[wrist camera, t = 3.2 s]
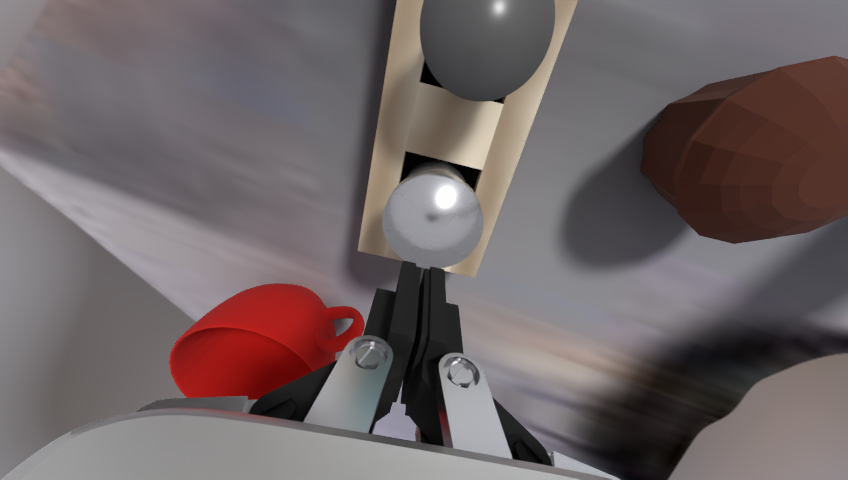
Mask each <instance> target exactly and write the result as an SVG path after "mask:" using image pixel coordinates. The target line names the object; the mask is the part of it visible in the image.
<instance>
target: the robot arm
mask: <svg viewBox="0 0 848 480" xmlns="http://www.w3.org/2000/svg"><path fill="white" fill-rule="evenodd" d="M420 274H421V268H419V267H416V263H413V262H409V261H404V260H403V263H402V267H401V271H400V275H399V280H398V284H397V288H396V292H393V291H388V290H383V289H379V288H377V290H376V293H375V296H374V300H373V303H372V307H371V310H370V314H369V317H368V321H367V324H366V327H365V331H364V334H363V336H359V337H356V338H354V339H353V340H351V341H350V342H349V343H348V344H347V346H346V347H345V349H344V351H343V352H342V354H341V356H340V358H339V360H337V361H334V362H332V363H330V364H328V365H326V366H324V367H322V368H320V369H317V370H315V371H313V372H311V373H309V374H307V375H305V376H303V377H300V378H298V379H296V380H294V381H292V382H290V383H288V384H286V385H283V386H281V387H279V388H277V389H275V390H273V391H271V392H269V393H267V394H265V395H264V396H262V397H260V398H259V399H258V400H248V396H227V397H199V398H170V399H163V400H157V401H155V402H152V403H150V404H147V405H145V406H143V407H142V408H140V409H139V410H137V411H136V412H133V413H128V414H122V415H118V416H114V417H110V418H106V419H102V420H99V421H96V422H93V423H90V424H87V425H85V426H82V427H80V428H77V429H75V430H72V431H70V432H69V433H67V434H65V435H63V436H61V437H59V438H58V439H56V440H54V441H53V442H51V443H49V444H48V445H46V446H45V447H43V448H42V449H40V450H39V451H37V452H36V453H35V454H33V455H32V456H31V457H29V458H28V459H26V460H25V461H24V462H22V463H21V464H20V465H18V466H17V467H16V468H15V469H13V470H12V471H11V472H10V473H9V474H7V475H6V476H5V477H3V478H2V479H1V480H620V479H618V478H617V477H614V476H612V475H610V474H607V473H605V472H603V471H600V470H598V469H595V468H593V467H591V466H588V465H586V464H583V463H581V462H579V461H576V460H574V459H572V458H569V457H567V456H564V455H562V454H560V453H557V452H555V451H553V452H552V453H551V454H549V453H547V452H546V450H545V448H544V447H543V446H542V445H541V444H540V443H539V441H538V440H537V439H536V438H534V437H533V436H532V435H531V434H530V433H529V432H528V431H527V430H526V429H525V428H524V427H523V426H522V425H521V424H520V423H519V422H518V421H517V420H516V419H515V418H514V417H513V416H512V415H511V414H510V413H509V412H507V411H506V410H505V409H504V408H503V407H502V406H501V405H500V404H499V403H498V402H497V401H496V400H495V399H494V398H493V397H492V396H491V393H490V390H489V387H488V384H487V381H486V377H485V374H484V372H483V370H482V368H481V366H480V365H479V364H478V363H477V362H476V361H475V360H474V359H472V358H471V357H469V356H467V355H465V354H463V345H462V336H461V327H460V317H459V308H458V306H457V305H454V304H450V303H446V290H445V271H444V269H441V268H436V267H432V266H431V267H430V269H429V270H428V269H425V270H424V273H423V277H422V280H421V284H420ZM402 381H403V385H402V394H401V404H406V412H405V415H407V416H410V418H411V419H412V420H413V421H414V423H415V424H416V425H417V426H416V432H415V436H416V442H414V441H409V440H403V439H397V438H392V437H386V436H380V435H374V434H373V431H374V428H375V425H376V422H377V421H378V420H379V419H381V418H382V417H384V416H385V415H387V414H388V413H390V409H391V406H392V402H396V401H397V398H398V395H399V391H400V388H401V384H402Z"/></svg>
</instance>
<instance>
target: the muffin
mask: <svg viewBox="0 0 848 480" xmlns="http://www.w3.org/2000/svg"><path fill="white" fill-rule="evenodd" d="M643 146H644V155H643V160H642V165H641V170H640V171H641V172H642V173H643V174H644V175H645V176H646V177H647V178H648V179H649V180H650V181H651V182H652V184H653V185H654V187H655V189H656V190H657V192H658V193H659V194H660V195H661V196H663V197H664V198H665V199H666V200H667V201H668V202H670V203H671V204H672V205H673V206H674V207H675V208H676V209H677V211H678V214H679V215H680V216H681V217H682V218H683V219H684V220H685V221H686V222H687V223H688V224H689V225H690V226H691V227H692V228H693V229H694V230H695V231H696V232H697V233H698V234H699V235H700V236H704V237H709V238H713V239H717V240H721V241H725V242H729V243H733V244H735V243H742V242H749V241H756V240H763V239H770V238H777V237H781V236H788V235H795V234H801V233H806V232H810V231H812V230H815V229H817V228H819V227H822V226H824V225H826V224H829V223H831V222H833V221H836V220H838V219H840V218H843V217H845V216H847V215H848V59H845V58H841V57H838V56H831V57H826V58H821V59H816V60H812V61H807V62H802V63H797V64H793V65H788V66H783V67H779V68H776V69H774V70H771V71H766V72H762V73H757V74H752V75H748V76H743V77H739V78H734V79H730V80H725V81H720V82H716V83H711V84H708V85H706V86H704V87H703V88H701V89H699V90H698V91H696V92H694V93H693V94H691V95H689V96H687V97H685V98H682V99H680V100H677V101H675V102H673V103H670V104H669V105H668V106H667V108H666V109H665V111H664V112H663V114H662V115H661V117H660V118H659V120H658V122H657V123H656V124H655V125H654V126H653V127H652V129H651V130H650V131H649V132H648V133H647V134H646V136H645V137H644V138H643Z"/></svg>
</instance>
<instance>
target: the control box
mask: <svg viewBox="0 0 848 480" xmlns="http://www.w3.org/2000/svg"><path fill="white" fill-rule="evenodd" d="M423 1H424V0H397V1H396V7H395V14H394V20H393V27H392V33H391V39H390V46H389V52H388V59H387V65H386V71H385V78H384V84H383V91H382V97H381V103H380V110H379V116H378V122H377V129H376V135H375V142H374V148H373V154H372V161H371V167H370V174H369V180H368V186H367V193H366V199H365V206H364V213H363V220H362V226H361V232H360V239H359V245H358V251H360V252H365V253H369V254H373V255H378V256H382V257H386V258H391V259H395V260H399V261H403V259H402V258H400V257H399V256H398V255H397V254H396V253H395V252H394V251H393V250H392V249H391V247H390V246H389V244H388V242H387V240H386V238H385V235H384V232H383V226H382V218H383V212H384V208H385V206H386V203H387V201H388V199H389V197H390V195H391V193H392V192H393V190H394V189H395V188H396V187H397V185H398V184H400V179H401V174H402V170H403V165H404V160H405V155H406V151H408V152H412V153H416V154H420V155H424V156H428V157H432V158H436V159H440V160H444V161H448V162H452V163H456V164H460V165H464V166H468V167H472V168H476V169H480V171H479V174H478V177H477V181H476V184H475V187H474V190H473V191H474V193H475V194H476V196H477V198H478V200H479V204H480V207H481V210H482V213H483V223H484V226H483V232H482V236H481V239H480V241H479V243H478V245H477V246H476V248H475V249H474V251H473V252H472V253H471V254H470V255H469V256H468V257H467V258H465V259H464V260H462V261H461V262H459V263H457V264H455V265H452V266H449V267H446V268H441V269H444V271H447V272H452V273H456V274H460V275H465V276H469V277H473V278H475V276H476V273H477V271H478V268H479V265H480V263H481V260H482V257H483V254H484V252H485V249H486V246H487V244H488V241H489V238H490V236H491V233H492V230H493V228H494V225H495V222H496V220H497V217H498V214H499V212H500V209H501V206H502V203H503V201H504V198H505V195H506V193H507V190H508V187H509V185H510V182H511V179H512V177H513V174H514V171H515V169H516V166H517V163H518V160H519V158H520V155H521V152H522V150H523V147H524V144H525V142H526V139H527V136H528V134H529V131H530V128H531V126H532V123H533V120H534V118H535V115H536V112H537V109H538V107H539V104H540V101H541V99H542V96H543V93H544V91H545V88H546V85H547V83H548V80H549V77H550V75H551V72H552V69H553V66H554V64H555V61H556V58H557V56H558V53H559V50H560V48H561V45H562V42H563V40H564V37H565V34H566V32H567V29H568V26H569V24H570V21H571V18H572V15H573V13H574V10H575V7H576V5H577V2H578V0H554V2H555V25H554V31H553V36H552V39H551V43H550V46H549V49H548V51H547V53H546V56H545V58H544V59H543V61H542V63H541V65H540V66H539V68H538V69H537V71H536V72H535V73H534V74H533V76H532V77H531V78H530V79H529V80H528V81H527V82H526V83H525V84H524V85H523V86H521V87H520V88H519V89H517V90H516V91H514V92H513V93H511V94H509V95H507V96H505V97H503V99H502V102H501V103H497V102H493V101H484V102H479V101H470V100H466V99H463V98H460V97H458V96H456V95H454V94H452V93H451V92H449V91H448V90H446V89H444V88H440V87H436V86H433V85H429V84H425V83H421V77H422V72H423V67H424V62H425V58H424V55H423V52H422V47H421V42H420V16H421V10H422V5H423Z"/></svg>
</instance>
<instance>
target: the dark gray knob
mask: <svg viewBox="0 0 848 480" xmlns="http://www.w3.org/2000/svg"><path fill="white" fill-rule="evenodd" d="M554 25H555V2H554V0H424V1H423V5H422V10H421V16H420V42H421V47H422V52H423V55H424V58H425V61H426V63H427V65H428V67H429V69H430V71H431V73H432V74H433V76H434V77H435V78H436V80H437V81H438V82H439V83H440V84H441V85H442V86H443V87H444V88H445V89H446V90H448V91H449V92H451V93H452V94H454V95H456V96H458V97H460V98H463V99H466V100H470V101H479V102H484V101H492V100H496V99H500V98H502V97H505V96H507V95H509V94H511V93H513V92H514V91H516V90H517V89H519V88H520V87H521V86H523V85H524V84H525V83H526V82H527V81H528V80H529V79H530V78H531V77H532V76H533V74H534V73H535V72H536V71H537V69H538V68H539V66H540V65H541V63H542V61H543V59H544V58H545V56H546V53H547V51H548V49H549V46H550V43H551V39H552V36H553V31H554Z"/></svg>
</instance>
